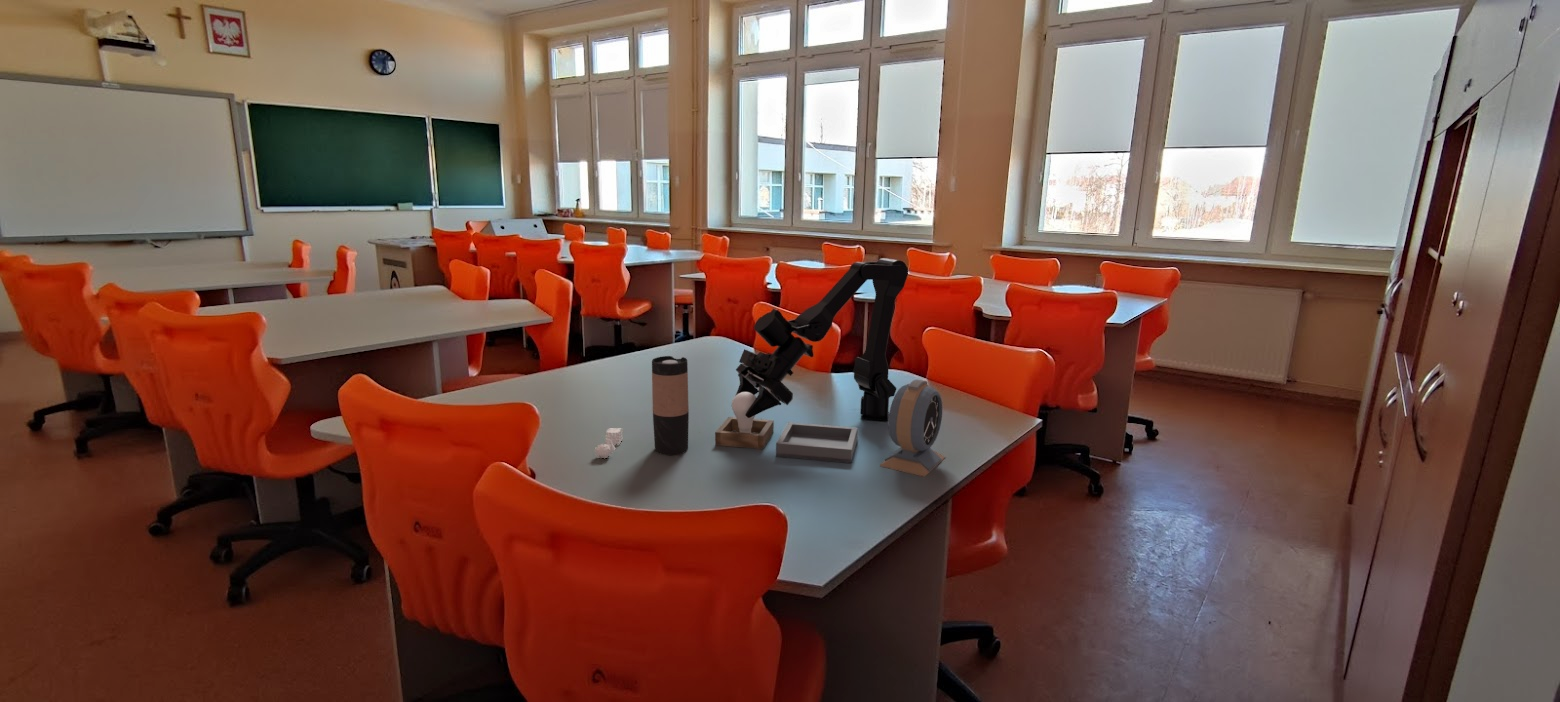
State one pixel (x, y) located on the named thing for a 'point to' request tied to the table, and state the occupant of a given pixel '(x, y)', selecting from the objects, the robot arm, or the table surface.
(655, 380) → the travel mug
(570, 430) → the table surface
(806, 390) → the table surface
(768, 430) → the socket block
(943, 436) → the table surface
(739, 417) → the lightbulb
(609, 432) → the game pieces
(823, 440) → the tray
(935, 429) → the alarm clock
